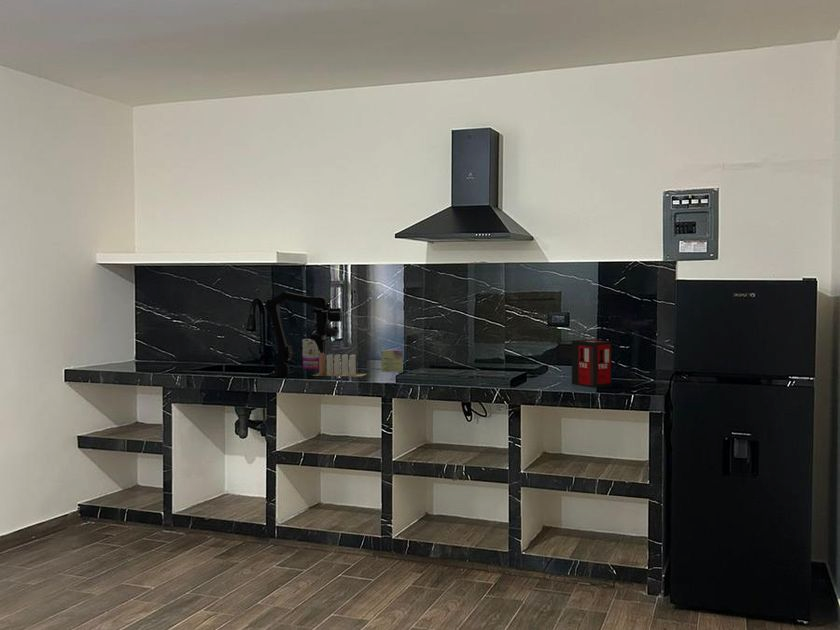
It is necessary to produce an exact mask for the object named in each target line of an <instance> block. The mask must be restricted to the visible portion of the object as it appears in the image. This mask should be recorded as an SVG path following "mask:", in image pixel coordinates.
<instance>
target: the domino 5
mask: <svg viewBox="0 0 840 630" xmlns="http://www.w3.org/2000/svg"><path fill="white" fill-rule="evenodd" d="M356 356H357V355H356V354H350V355H348V361H349V374H350V376H349V377H354V376H353V375H356V374H357V369H356V368H357V365H356V362H357V361H356V360H357V359H356Z"/></svg>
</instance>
